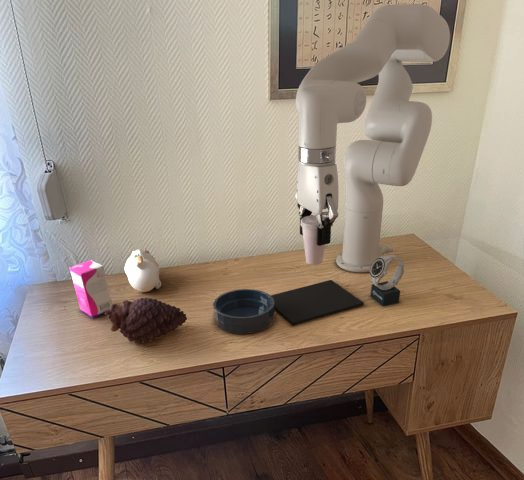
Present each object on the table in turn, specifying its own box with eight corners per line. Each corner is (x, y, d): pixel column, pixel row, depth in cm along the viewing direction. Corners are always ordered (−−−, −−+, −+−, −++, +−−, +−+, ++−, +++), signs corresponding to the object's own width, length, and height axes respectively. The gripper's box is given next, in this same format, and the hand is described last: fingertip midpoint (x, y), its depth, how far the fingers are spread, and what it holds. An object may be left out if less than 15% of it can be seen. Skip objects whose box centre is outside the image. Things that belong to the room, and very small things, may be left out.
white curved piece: (147, 262, 124) (137, 234, 135) (120, 282, 125) (112, 252, 136) (171, 287, 131) (160, 258, 142) (145, 306, 132) (136, 276, 143)
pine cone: (176, 314, 122) (189, 288, 115) (185, 350, 118) (199, 326, 110) (98, 314, 114) (106, 286, 106) (105, 353, 109) (114, 327, 102)
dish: (258, 299, 127) (257, 284, 125) (285, 324, 117) (285, 308, 114) (205, 313, 122) (204, 297, 120) (229, 341, 112) (227, 324, 110)
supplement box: (101, 302, 128) (91, 258, 122) (114, 310, 125) (104, 265, 118) (79, 310, 125) (68, 266, 119) (92, 319, 121) (81, 274, 115)
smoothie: (326, 268, 116) (329, 205, 108) (298, 266, 117) (298, 204, 109) (329, 256, 121) (332, 196, 113) (302, 255, 122) (302, 195, 115)
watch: (363, 297, 126) (367, 255, 120) (392, 291, 129) (397, 249, 122) (375, 308, 122) (380, 264, 116) (405, 301, 124) (411, 257, 118)
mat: (330, 282, 134) (331, 279, 133) (363, 305, 123) (363, 302, 123) (264, 300, 127) (264, 297, 126) (292, 326, 116) (292, 322, 116)
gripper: (357, 161, 101) (351, 248, 111) (310, 144, 114) (309, 224, 124) (324, 166, 98) (320, 256, 108) (280, 148, 111) (281, 230, 121)
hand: (314, 238), depth 116 cm, fingers closed on smoothie, 6 cm apart
